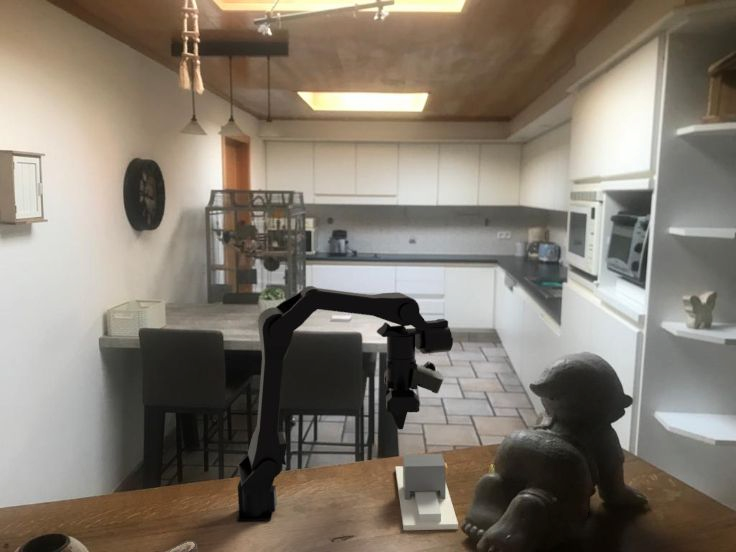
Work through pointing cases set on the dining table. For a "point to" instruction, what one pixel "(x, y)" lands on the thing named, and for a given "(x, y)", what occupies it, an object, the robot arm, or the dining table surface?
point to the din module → (424, 473)
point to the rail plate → (412, 510)
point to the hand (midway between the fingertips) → (400, 428)
